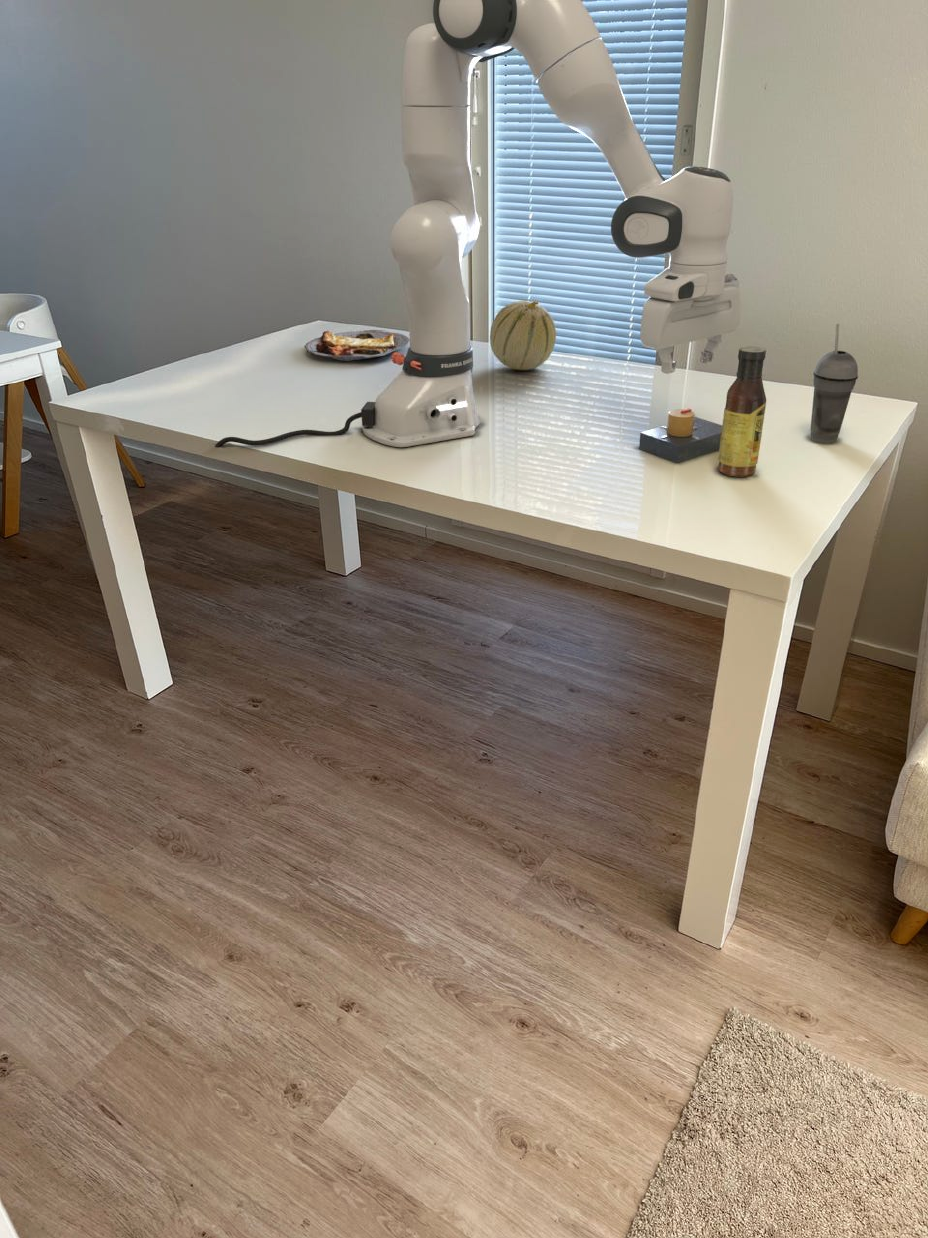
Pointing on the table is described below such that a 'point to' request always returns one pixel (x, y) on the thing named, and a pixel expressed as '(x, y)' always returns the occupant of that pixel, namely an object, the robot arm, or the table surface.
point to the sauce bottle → (743, 416)
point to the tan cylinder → (680, 422)
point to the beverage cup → (832, 393)
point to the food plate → (356, 344)
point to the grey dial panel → (682, 441)
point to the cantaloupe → (523, 335)
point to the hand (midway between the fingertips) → (687, 367)
